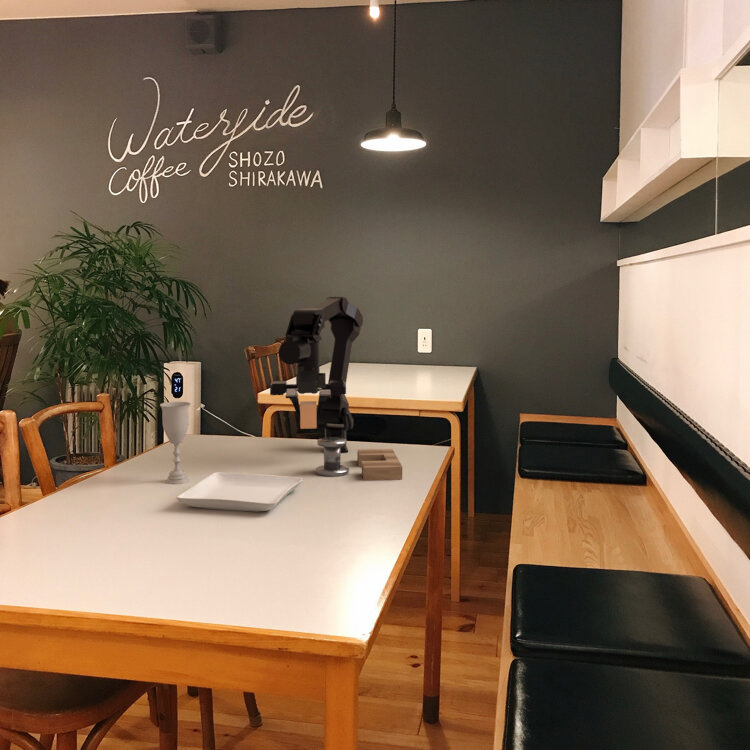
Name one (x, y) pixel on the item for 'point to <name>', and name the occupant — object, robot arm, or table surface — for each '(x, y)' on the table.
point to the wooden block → (308, 414)
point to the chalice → (176, 434)
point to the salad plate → (239, 491)
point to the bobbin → (332, 457)
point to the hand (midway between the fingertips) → (308, 421)
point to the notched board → (379, 464)
